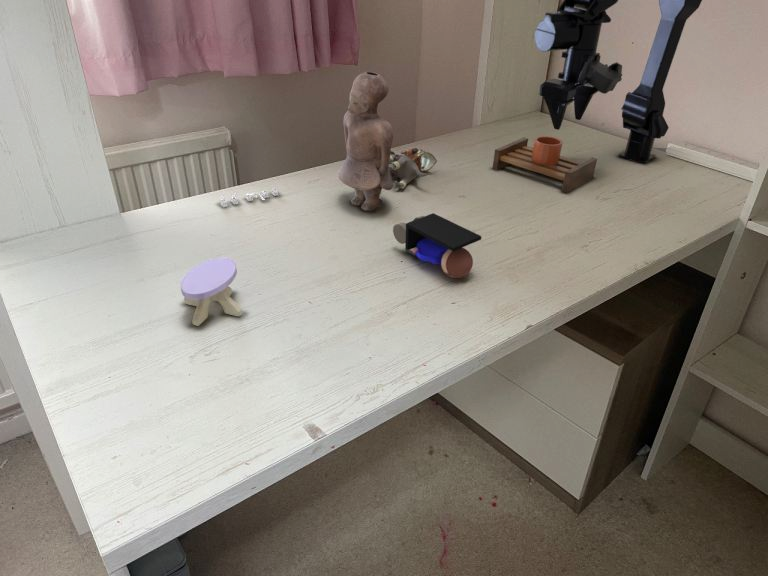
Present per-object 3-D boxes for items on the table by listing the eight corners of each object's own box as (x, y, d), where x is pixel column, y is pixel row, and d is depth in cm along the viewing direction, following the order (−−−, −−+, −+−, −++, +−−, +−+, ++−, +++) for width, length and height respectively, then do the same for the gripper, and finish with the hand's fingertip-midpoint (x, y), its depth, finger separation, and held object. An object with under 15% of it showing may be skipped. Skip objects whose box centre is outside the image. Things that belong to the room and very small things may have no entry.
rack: (520, 155, 144) (523, 137, 142) (593, 178, 134) (597, 158, 132) (492, 168, 137) (494, 149, 134) (566, 193, 127) (570, 173, 124)
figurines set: (275, 192, 122) (274, 179, 121) (281, 197, 120) (280, 184, 119) (216, 204, 117) (215, 190, 115) (221, 210, 115) (220, 196, 113)
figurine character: (390, 258, 104) (452, 288, 94) (388, 216, 101) (452, 243, 90) (419, 247, 108) (482, 274, 98) (419, 206, 105) (484, 230, 94)
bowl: (540, 153, 137) (543, 134, 135) (563, 160, 134) (567, 141, 132) (526, 160, 134) (529, 140, 131) (550, 167, 130) (553, 147, 128)
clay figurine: (325, 200, 120) (323, 68, 106) (364, 187, 126) (366, 61, 112) (368, 224, 112) (371, 84, 98) (408, 209, 118) (416, 76, 104)
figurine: (343, 150, 129) (390, 131, 140) (344, 177, 132) (390, 157, 143) (422, 168, 118) (466, 146, 130) (421, 197, 121) (465, 174, 133)
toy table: (214, 283, 93) (210, 251, 90) (261, 302, 90) (257, 268, 87) (165, 315, 86) (158, 280, 83) (213, 336, 82) (208, 301, 79)
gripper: (598, 61, 112) (581, 144, 120) (640, 47, 123) (622, 123, 132) (544, 51, 118) (531, 130, 126) (589, 38, 129) (575, 111, 138)
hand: (567, 124), depth 130 cm, fingers open, 9 cm apart
